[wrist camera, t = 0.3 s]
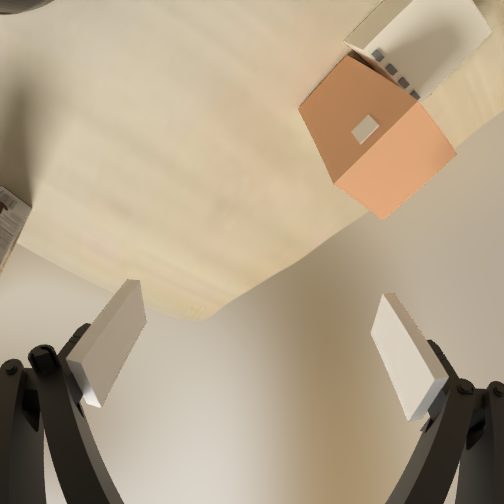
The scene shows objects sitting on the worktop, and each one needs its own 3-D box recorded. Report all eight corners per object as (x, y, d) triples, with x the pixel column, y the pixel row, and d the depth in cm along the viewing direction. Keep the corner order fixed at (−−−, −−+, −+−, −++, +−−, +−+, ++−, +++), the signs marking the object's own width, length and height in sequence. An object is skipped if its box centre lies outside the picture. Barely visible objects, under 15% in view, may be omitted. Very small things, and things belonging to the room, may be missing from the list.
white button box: (342, 40, 19) (363, 49, 16) (418, -33, 11) (449, -32, 8) (395, 90, 22) (419, 109, 19) (463, 23, 15) (494, 33, 11)
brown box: (297, 108, 24) (332, 183, 16) (346, 54, 20) (417, 100, 12) (337, 137, 26) (383, 220, 18) (384, 89, 22) (457, 154, 14)
